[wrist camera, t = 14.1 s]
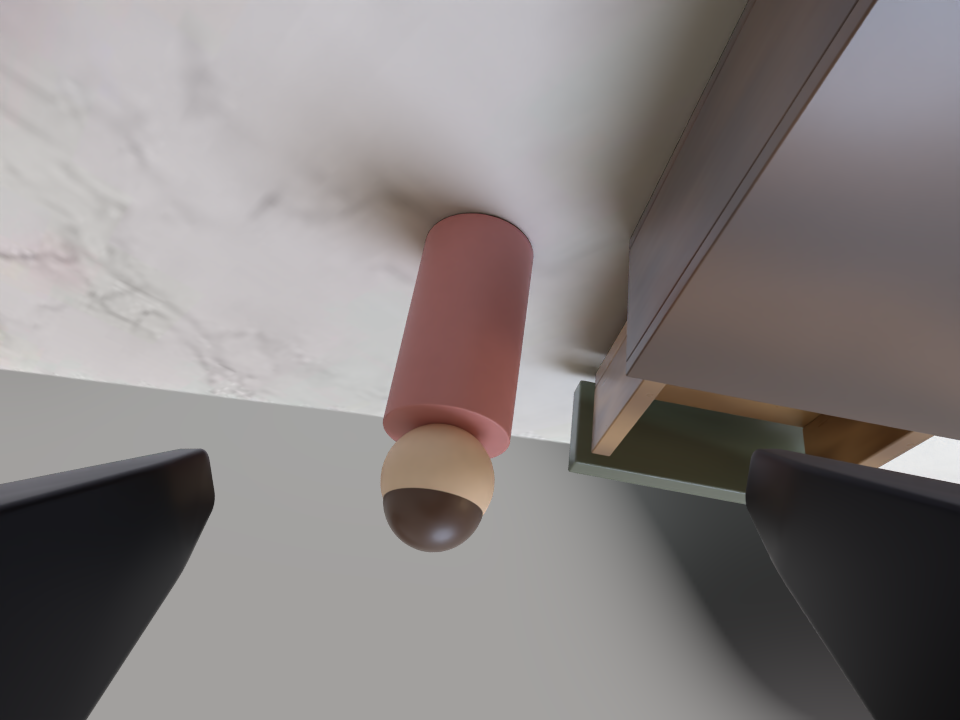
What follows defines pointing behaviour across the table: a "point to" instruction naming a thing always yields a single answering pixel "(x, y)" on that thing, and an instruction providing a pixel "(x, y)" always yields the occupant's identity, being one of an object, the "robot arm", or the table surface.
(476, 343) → the doll
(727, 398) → the drawer
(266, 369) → the table surface
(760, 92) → the organizer
